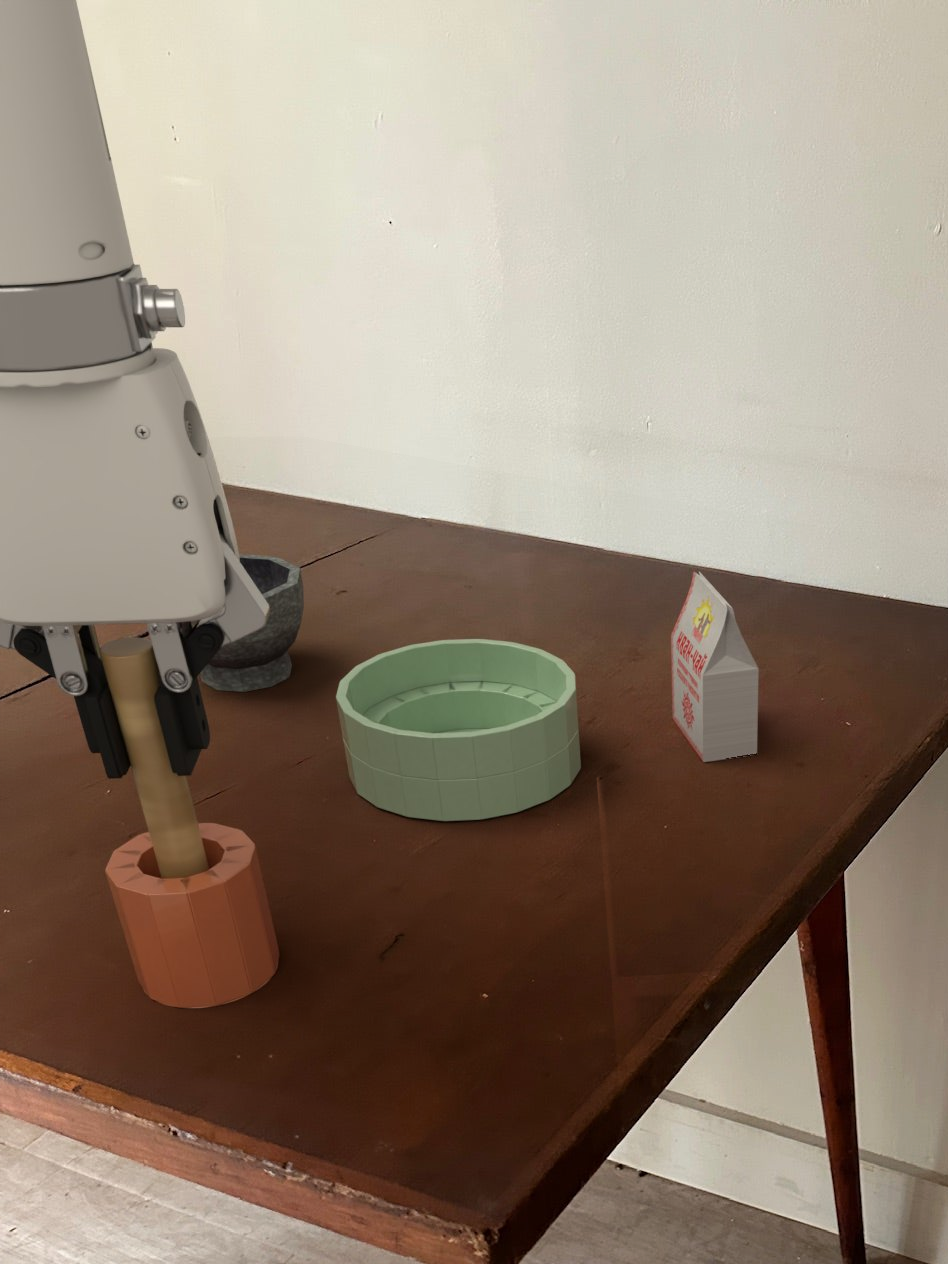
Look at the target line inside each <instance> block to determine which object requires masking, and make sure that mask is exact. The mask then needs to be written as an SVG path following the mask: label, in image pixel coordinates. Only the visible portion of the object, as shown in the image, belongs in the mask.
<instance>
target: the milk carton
mask: <svg viewBox="0 0 948 1264" xmlns="http://www.w3.org/2000/svg"><path fill="white" fill-rule="evenodd" d="M670 658H671V659H670V660H671V661H670V664H671V665H670V666H671V667H670V668H671V705H672V706H671V708H672V709H671V710H672V712H671V713H672V715H671V717H672V720H673V722H674V723H675V725H676V727H678V729H679V730H680V732H681V733H682V734H683V735H684V737H685V739H686V740H687V741H688V743H689V745H690V746H691V747H692V749H693V750H694V752H695V753H696V754H697V756H698V757H699V759H700V760H701V761H702V763H708V762H715V761H722V760H727V759H726V758H729V759H732V758H731V757H736V758H738V757H737V756H742V755H747V754H748V755H750V754H756V753H757V754H758V729H759V728H758V726H759V725H758V720H759V718H758V717H759V714H758V713H759V673H760V671H759V667H758V664H757V662H756V660H755V658H754V657H753V654H752V652H751V651H750V649H749V647H748V645H747V643H746V641H745V639H744V637H743V635H742V633H741V631H740V627H739V624H738V623H737V620H736V616H735V612H734V608H733V607H732V606H731V605H730V604H729V602H728V601H727V600H726V599H725V598H724V597H723V596H722V595H721V593H720V592H719V591H718V590H717V589H716V588H715V587H714V585H712V584H711V582H710V581H709V580H708V579H707V578H706V577H705V576H704V575H703V574H702V573H701V571H698V573H697V572H695V571H693V572H692V578H691V582H690V586H689V589H688V593H687V595H686V599H685V601H684V603H683V605H682V608H681V610H680V613H679V615H678V617H677V620H676V621H675V625H674V627H673V629H672V632H671V634H670ZM750 756H751V755H750Z"/></svg>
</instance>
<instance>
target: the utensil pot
mask: <svg viewBox="0 0 948 1264" xmlns="http://www.w3.org/2000/svg"><path fill="white" fill-rule="evenodd" d="M198 825H199V829H200V833H201V837H202V841H203V845H204V849H205V854H206V858H207V862H208V866H209V870H208V871H206V872H203V873H199V874H196V875H193V876H189V877H186V878H168V879H161V875H160V871H159V868H158V864H157V860H156V857H155V853H154V849H153V846H152V842H151V838H150V835H149V831H147V832H143V833H140V834H138V835H136V836H134V837H133V838H131V839H130V840H128V841H127V842H125V843H123V844H122V845H120V846H119V847H117V848H116V849H114V850H113V852H112V854H111V856H110V858H109V861H108V862H107V864H106V867H105V869H104V871H105V875H106V879H107V882H108V885H109V889H110V892H111V895H112V898H113V902H114V905H115V908H116V909H115V910H116V912H117V916H118V919H119V922H120V925H121V928H122V933H123V935H124V938H125V942H126V945H127V948H128V952H129V955H130V959H131V962H132V965H133V969H134V972H135V974H136V975H135V976H136V978H137V982H138V983H139V985H140V986H141V988H142V989H143V992H144V993H145V994H146V995H147V996H148V998H149V999H150V1000H152V1001H155V1002H157V1003H159V1004H162V1005H164V1006H169V1007H173V1008H174V1007H175V1008H178V1009H179V1008H181V1009H203V1008H210V1007H211V1008H213V1007H216V1006H221V1005H225V1004H226V1005H227V1004H230V1003H232V1002H236V1001H238V1000H241V999H243V998H246V997H247V996H249V995H252V994H253V993H255V992H256V991H258V990H260V989H261V988H262V987H263V986H265V985H266V984H267V983H268V982H269V981H270V980H271V979H272V978H273V976H274V975H275V974H276V971H277V969H278V966H279V959H280V955H281V953H280V950H279V945H278V940H277V935H276V931H275V927H274V922H273V919H272V913H271V910H270V904H269V901H268V895H267V892H266V887H265V883H264V878H263V874H262V869H261V865H260V860H259V855H258V851H257V847H256V844H255V843H254V841H252V840H251V839H250V838H249V836H248V835H247V834H246V833H245V832H244V831H243V830H241V829H240V828H235V827H231V826H228V825H223V824H219V823H216V822H198Z"/></svg>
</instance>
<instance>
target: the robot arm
mask: <svg viewBox="0 0 948 1264" xmlns="http://www.w3.org/2000/svg"><path fill="white" fill-rule="evenodd" d="M78 7H79V6H78V2H77V0H0V648H3V649H6V650H10V649H11V650H14V651H16V652H17V653H18V654H19V655H20V656H21V657H23V658H24V659H26V660H28V661H29V662H30V663H32V664H33V665H35V666H36V667H38V668H39V669H40V670H42V671H43V672H45V673H47V675H49V676H51V677H52V678H54V679H55V680H56V682H57V685H58V687H59V688H60V690H61V691H62V692H64V693H65V694H66V695H69V696H71V697H72V696H73V698H74V703H75V705H76V709H77V712H78V716H79V720H80V723H81V726H82V731H83V733H84V737H85V739H86V743H87V747H88V749H89V751H90V753H92V754H100V757H101V760H102V761H101V762H102V764H103V768H104V771H105V774H106V777H107V779H109V780H111V779H114V780H115V779H123V777H124V776H127V775H128V772H129V771H130V769H131V765H130V762H129V758H128V754H127V751H126V747H125V743H124V740H123V736H122V732H121V729H120V725H119V721H118V718H117V714H116V711H115V707H114V703H113V700H112V696H111V692H110V689H109V685H108V681H107V678H106V674H105V670H104V667H103V663H102V659H101V656H100V652H99V651H100V648H101V645H100V643H99V639H98V635H97V631H96V627H95V626H108V625H141V624H142V625H144V624H146V628H147V632H148V635H149V640H150V641H151V643H152V646H153V650H154V653H155V657H156V661H157V664H158V668H159V671H160V673H159V675H158V679H159V683H160V686H159V687H158V689H157V691H156V693H155V696H154V701H155V706H156V710H157V714H158V718H159V721H160V725H161V729H162V733H163V737H164V741H165V745H166V749H167V753H168V757H169V760H170V764H171V768H172V772H173V773H177V775H178V776H186V777H189V776H190V777H191V776H192V774H193V772H194V769H195V767H196V764H197V762H198V760H199V756H200V754H201V753H202V750H207V749H208V748H209V745H210V743H211V732H210V725H209V722H208V717H207V716H208V715H207V712H206V709H205V704H204V701H203V696H202V692H201V686H200V683H199V679H198V676H199V675H201V673H200V672H201V671H202V670H203V669H204V668H205V666H206V665H207V664H208V663H209V662H210V660H211V659H212V658H213V657H214V656H215V655H216V653H217V652H218V651H219V650H220V648H221V647H223V646H225V645H227V644H229V643H233V642H235V641H237V640H239V639H242V638H244V637H246V636H248V635H250V634H252V633H254V632H256V631H258V630H260V629H262V628H263V627H264V626H265V624H266V622H267V619H268V616H269V614H270V607H269V605H268V603H267V601H266V600H265V598H264V597H263V596H262V594H261V593H260V591H259V590H258V588H257V587H256V585H255V584H254V582H253V581H252V579H251V578H250V576H249V575H248V573H247V572H246V570H245V569H244V567H243V566H242V564H241V563H240V558H239V554H240V551H239V546H238V541H237V536H236V532H235V528H234V524H233V519H232V515H231V512H230V508H229V505H228V501H227V499H226V498H227V497H226V494H225V490H224V488H223V487H224V486H223V484H222V480H221V476H220V473H219V468H218V466H217V462H216V458H215V456H214V451H213V449H212V445H211V441H210V439H209V436H208V433H207V430H206V427H205V423H204V421H203V417H202V415H201V411H200V409H199V406H198V403H197V401H196V398H195V395H194V392H193V390H192V386H191V384H190V382H189V379H188V377H187V374H186V372H185V370H184V367H183V364H182V363H181V361H180V359H179V357H178V354H177V353H176V352H175V351H174V350H171V349H169V348H162V347H161V348H159V347H154V346H153V341H154V340H155V339H156V335H157V334H158V333H159V332H165V331H166V329H167V328H184V327H185V325H186V313H185V307H184V301H183V298H182V294H181V293H180V290H179V288H160V287H159V285H158V284H149V282H148V279H147V277H144V276H143V272H142V267H141V264H135V262H134V257H133V253H132V248H131V244H130V243H131V242H130V239H129V234H128V230H127V226H126V225H127V224H126V220H125V215H124V211H123V208H122V204H121V203H122V201H121V198H120V194H119V188H118V184H117V180H116V175H115V170H114V166H113V161H112V157H111V153H110V148H109V143H108V140H107V135H106V130H105V126H104V120H103V116H102V113H101V107H100V102H99V98H98V94H97V90H96V85H95V81H94V76H93V71H92V66H91V61H90V57H89V53H88V48H87V44H86V43H87V42H86V39H85V34H84V30H83V25H82V21H81V15H80V12H79V8H78ZM224 605H225V606H224ZM223 606H224V607H223ZM196 620H199V621H198V622H197V623H196V625H195V624H194V621H196Z"/></svg>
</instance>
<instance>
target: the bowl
mask: <svg viewBox="0 0 948 1264" xmlns="http://www.w3.org/2000/svg"><path fill="white" fill-rule="evenodd" d="M576 679H577V678H576V674H575V672H574V671H573V669H571V667H569V665H568V664H567V663H566V661H564V660H563V659H562V658H559V657H557V656H556V655H554V654H552V653H550V652H548V651H546V650H544V649H541V648H538V647H534V646H530V645H527V644H523V643H518V642H514V641H505V640H495V639H487V638H485V639H484V638H465V639H464V638H463V639H461V638H460V639H441V640H434V641H427V642H422V643H421V642H420V643H413V644H408V645H405V646H402V647H398V648H395V649H392V650H388V651H385V652H382V653H379V654H376V655H374V656H373V657H371V658H369V659H367V660H365V661H363V662H361V663H359V664H357V665H355V666H354V667H353V668H352V669H350V671H349V672H348V673H347V674H345V676H344V677H343V678H341V679H340V681H339V683H338V687H337V691H336V694H335V701H336V707H337V714H338V718H339V724H340V730H341V735H342V742H343V747H344V753H345V760H346V765H347V770H348V776H349V777H348V778H349V779H350V781H351V783H352V786H353V787H354V789H355V791H356V793H357V794H358V796H360V797H362V798H363V799H365V800H366V801H367V802H369V803H370V804H372V805H373V806H374V807H376V808H378V809H380V810H384V811H387V812H391V813H393V814H397V815H400V816H404V817H406V818H412V819H413V818H414V819H421V820H422V819H423V820H429V821H438V822H439V821H440V822H455V821H457V822H458V821H480V820H486V819H492V818H497V817H502V816H506V815H512V814H516V813H519V812H523V811H525V810H527V809H530V808H532V807H536V806H538V805H540V804H543V803H546V802H548V801H550V800H551V799H553V798H555V797H556V796H557V795H559V794H560V793H561V792H563V791H565V790H566V789H567V788H569V787H570V786H571V785H572V784H573V782H574V780H575V778H576V777H577V776H578V774H579V772H580V771H581V769H582V761H581V760H582V759H581V746H580V745H581V744H580V729H579V714H578V698H577V680H576Z"/></svg>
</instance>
